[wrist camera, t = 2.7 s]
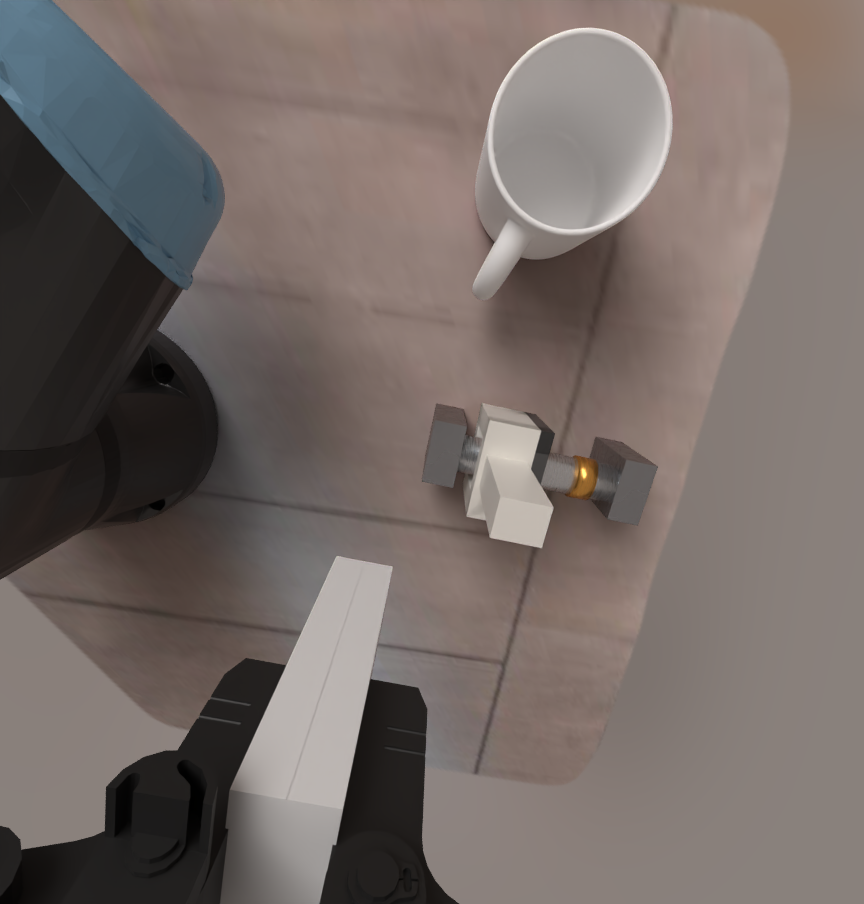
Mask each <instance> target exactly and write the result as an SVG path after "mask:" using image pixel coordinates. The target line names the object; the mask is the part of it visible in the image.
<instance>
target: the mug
mask: <svg viewBox="0 0 864 904" xmlns="http://www.w3.org/2000/svg"><path fill="white" fill-rule="evenodd" d="M672 127H673V124H672V108H671V102H670V97H669V93H668V90H667V86H666V84H665V82H664V79H663V77H662V75H661V73H660V71H659V70H658V68H657V66H656V65H655V63H654V62H653V60H652V59H651V58H650V57H649V56H648V54H647V53H646V52H645V51H644V50H643V49H641V48H640V47H639V46H638V45H637V44H636V43H634V42H632V41H631V40H629V39H628V38H626V37H624V36H622V35H620V34H617V33H615V32H612V31H608V30H604V29H597V28H578V29H573V30H568V31H564V32H561V33H558V34H556V35H553V36H551V37H549V38H547V39H545V40H543V41H541V42H540V43H538V44H537V45H536V46H534V47H533V48H531V49H530V50H529V51H528V52H527V53H526V54H525V55H523V56H522V57H521V58H520V59H519V60H518V62H517V63H516V64H515V65H514V66H513V67H512V69H511V70H510V71H509V73H508V74H507V76H506V78H505V79H504V81H503V82H502V84H501V86H500V88H499V90H498V92H497V95H496V97H495V100H494V103H493V106H492V109H491V114H490V118H489V122H488V127H487V131H486V136H485V140H484V144H483V149H482V153H481V158H480V162H479V167H478V171H477V176H476V184H475V199H476V207H477V211H478V215H479V218H480V220H481V223H482V225H483V227H484V229H485V230H486V232H487V233H488V235H489V236H490V238H491V239H492V240H493V241H494V242H495V243H494V245H493V247H492V248H491V250H490V252H489V254H488V256H487V258H486V260H485V261H484V263H483V265H482V267H481V269H480V271H479V273H478V275H477V277H476V279H475V281H474V284H473V287H472V288H473V293H474V296H475V297H476V298H477V299H479V300H488V299H490V298H491V297H492V296H493V295H494V294H495V293H496V292H497V291H498V289H499V288H500V287H501V285H502V284H503V283H504V281H505V280H506V278H507V277H508V275H509V274H510V272H511V271H512V269H513V268H514V266H515V265H516V263H517V262H518V260H519V259H520V257H521V258H526V259H533V260H536V259H547V258H552V257H555V256H558V255H561V254H563V253H565V252H567V251H570V250H571V249H573V248H575V247H577V246H578V245H580V244H582V243H584V242H586V241H587V240H589V239H591V238H593V237H594V236H596V235H598V234H600V233H602V232H603V231H605V230H607V229H609V228H610V227H612V226H614V225H616V224H617V223H619V222H620V221H622V220H623V219H625V218H626V217H627V216H629V215H630V214H631V213H632V212H634V211H635V210H636V209H637V208H638V207H639V206H640V205H641V204H642V203H643V201H644V200H645V199H646V198H647V196H648V195H649V194H650V192H651V191H652V190H653V188H654V186H655V184H656V183H657V181H658V179H659V177H660V175H661V173H662V171H663V168H664V166H665V163H666V160H667V157H668V154H669V149H670V144H671V138H672Z"/></svg>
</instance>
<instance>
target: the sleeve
mask: <svg viewBox="0 0 864 904" xmlns="http://www.w3.org/2000/svg"><path fill="white" fill-rule="evenodd" d="M554 435H555V433H554V432H553V431H552V430H551V429H550V428H549V427H548V426H547V425H546V424H545V423H544V422H543V421H542V420H541V419H540V418H539V417H538V416H537V415H536V414H532V413H527V412H522V411H517V410H513V409H508V408H503V407H498V406H494V405H489V404H484V403H482V404H481V408H480V412H479V417H478V421H477V425H476V429H475V434H474V437H478V438H482V442H481V446H480V450H479V454H478V458H477V463H476V467H475V471H474V475H472V474H467V473H465V476H464V480H463V492H464V501H465V509H466V517H471V518H476V519H481V520H486V522H487V527H488V532H489V536H490V538H494V539H499V540H504V541H509V542H514V543H519V544H524V545H529V546H534V547H539V548H542V546H543V542H544V539H545V535H546V532H547V529H548V525H549V522H550V518H551V515H552V511H553V508H554V507H553V506H552V504H551V502H550V500H549V499H548V497H547V495H546V494H545V492H544V490H543V489H542V487H541V482H542V478H543V475H544V471H545V467H546V464H547V460H548V457H549V453H550V450H551V446H552V442H553V439H554Z"/></svg>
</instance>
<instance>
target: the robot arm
mask: <svg viewBox="0 0 864 904" xmlns="http://www.w3.org/2000/svg"><path fill="white" fill-rule="evenodd" d="M224 203H225V193H224V187H223V182H222V179H221V176H220V173H219V171H218V169H217V167H216V165H215V164H214V162H213V161H212V159H211V158H210V156H209V155H208V154H207V153H206V151H205V150H204V149H203V148H202V147H201V146H200V145H199V144H198V143H197V142H196V141H195V140H194V139H193V138H192V137H191V136H190V135H189V134H188V133H187V132H186V131H185V130H184V129H183V128H182V127H181V126H180V125H179V124H178V123H177V122H176V121H175V120H174V119H173V118H172V117H171V116H170V115H169V114H168V113H167V112H166V111H165V110H164V109H163V108H162V107H161V106H160V105H159V104H158V103H157V102H156V101H155V100H154V99H153V98H152V97H151V96H150V95H149V94H148V93H147V92H146V91H145V90H144V89H142V88H141V87H140V86H139V85H138V84H137V83H136V82H135V81H134V80H133V79H132V78H131V77H130V76H129V75H128V74H127V73H126V72H125V71H124V70H123V69H122V68H121V67H120V66H119V65H118V64H117V63H116V62H115V61H114V60H113V59H112V58H111V57H110V56H109V55H108V54H107V53H106V52H105V51H104V50H103V49H102V48H100V47H99V46H98V45H97V44H96V43H95V42H94V41H93V40H92V39H91V38H90V37H89V36H88V35H87V34H86V33H85V32H84V31H83V30H82V29H81V28H80V27H79V26H78V25H77V24H76V23H75V22H74V21H73V20H72V19H71V18H70V17H69V16H68V15H67V14H66V13H64V12H63V11H62V10H61V9H60V8H59V7H58V6H57V5H56V4H55V3H54V2H53V1H52V0H0V579H2V578H4V577H6V576H7V575H9V574H11V573H12V572H14V571H16V570H17V569H19V568H21V567H22V566H24V565H26V564H28V563H29V562H31V561H33V560H34V559H36V558H38V557H39V556H41V555H43V554H44V553H46V552H48V551H49V550H51V549H53V548H55V547H56V546H58V545H60V544H61V543H63V542H65V541H66V540H68V539H70V538H71V537H73V536H75V535H76V534H78V533H80V532H81V531H83V530H90V529H96V528H103V527H109V526H116V525H123V524H129V523H135V522H139V521H143V520H146V519H149V518H151V517H154V516H156V515H158V514H161V513H163V512H164V511H166V510H168V509H169V508H171V507H172V506H174V505H175V504H177V503H178V502H180V501H181V500H183V499H184V498H186V497H187V496H188V495H189V494H190V493H192V492H193V491H194V490H195V489H196V488H197V486H198V485H199V484H200V483H201V481H202V480H203V479H204V477H205V475H206V474H207V472H208V470H209V468H210V466H211V463H212V461H213V458H214V455H215V450H216V445H217V434H218V428H217V416H216V411H215V406H214V402H213V399H212V396H211V393H210V391H209V389H208V386H207V384H206V382H205V380H204V378H203V377H202V375H201V373H200V372H199V370H198V369H197V367H196V366H195V364H194V363H193V362H192V360H191V359H190V358H189V357H188V356H187V355H186V353H185V352H184V351H183V350H182V349H181V348H180V347H179V346H178V345H176V344H175V343H174V342H173V341H172V340H170V339H169V338H168V337H167V336H165V335H164V334H162V333H161V332H159V331H157V329H158V328H159V326H160V324H161V323H162V321H163V320H164V318H165V317H166V315H167V313H168V312H169V310H170V309H171V307H172V306H173V304H174V303H175V301H176V299H177V298H178V296H179V295H180V293H181V292H182V290H183V289H185V290H188V288H189V287H190V286H191V284H192V281H193V278H192V272H193V270H194V268H195V266H196V264H197V262H198V260H199V258H200V256H201V254H202V252H203V250H204V248H205V246H206V244H207V242H208V240H209V239H210V237H211V235H212V233H213V231H214V230H215V228H216V226H217V224H218V222H219V220H220V218H221V216H222V213H223V209H224ZM392 569H393V567H392V566H387V565H382V564H377V563H371V562H366V561H361V560H356V559H350V558H345V557H340V556H336V558H335V560H334V562H333V565H332V567H331V569H330V571H329V573H328V576H327V578H326V580H325V582H324V584H323V587H322V589H321V591H320V593H319V595H318V597H317V600H316V602H315V604H314V606H313V608H312V611H311V613H310V615H309V617H308V619H307V622H306V624H305V626H304V628H303V630H302V632H301V635H300V637H299V639H298V641H297V643H296V646H295V648H294V650H293V652H292V654H291V657H290V659H289V661H288V663H287V665H281V664H275V663H270V662H264V661H259V660H254V659H248V658H246V659H244V660H243V661H242V662H240V663H239V664H238V665H236V666H235V667H234V668H232V669H231V670H230V671H228V672H227V673H226V674H225V675H224V676H223V678H222V679H221V681H220V683H219V684H218V686H217V687H216V689H215V691H214V692H213V694H212V696H211V699H210V700H208V702H207V704H206V705H205V707H204V708H203V710H202V712H201V713H200V716H199V719H197V720H196V721H195V723H194V725H193V726H192V728H191V729H190V731H189V733H188V734H187V736H186V738H185V740H184V741H183V742H182V744H181V746H180V747H179V749H178V750H177V751H163V752H160V753H156V754H153V755H149V756H146V757H143V758H142V759H140V760H138V761H137V762H135V763H133V764H132V765H130V766H128V767H126V768H125V769H123V770H122V771H121V772H120V773H119V774H118V775H117V777H115V778H114V779H113V780H112V782H110V784H109V785H108V786H107V787H106V810H105V811H106V812H105V813H106V814H105V831H104V832H102V833H99V834H97V835H95V836H92V837H89V838H85V839H81V840H77V841H73V842H67V843H60V844H54V845H48V846H42V847H36V848H30V849H23V850H21V843H20V839H19V838H18V837H17V836H16V835H15V834H14V833H13V832H12V831H11V830H10V829H9V828H6V827H2V826H0V904H459V903H457V902H456V901H455V900H453V899H452V898H451V897H449V896H448V895H447V894H446V893H445V892H444V891H443V889H442V888H441V887H440V886H439V885H438V884H437V882H436V881H435V879H434V878H433V876H432V874H431V872H430V870H429V868H428V866H427V863H426V860H425V856H424V853H423V845H422V823H423V799H424V775H425V774H424V773H425V751H426V728H427V707H426V705H425V703H424V700H423V698H422V696H421V693H420V691H419V689H418V688H416V687H411V686H405V685H400V684H394V683H389V682H383V681H378V680H373V679H371V675H372V670H373V666H374V661H375V656H376V651H377V646H378V640H379V635H380V630H381V625H382V620H383V615H384V610H385V605H386V600H387V594H388V589H389V584H390V579H391V574H392Z"/></svg>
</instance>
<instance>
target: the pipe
mask: <svg viewBox="0 0 864 904" xmlns="http://www.w3.org/2000/svg"><path fill="white" fill-rule="evenodd" d="M466 430H467V424H466V420H465V415H464V411H463V409H460V408H456V407H451V406H446V405H441V404H436V407H435V412H434V417H433V422H432V426H431V431H430V436H429V440H428V445H427V450H426V455H425V462H424V469H423V477H422V482H427V483H432V484H436V485H441V486H446V487H451V488H453V486H454V482H455V477H456V473H457V472H462V473H467V474H472V475H474V471H475V467H476V463H477V458H478V454H479V450H480V446H481V442H482V438H478V437H473V436H468V435H465V434H466ZM657 468H658V466H656V465H655V464H654V463H652V462H651V461H649V460H648V459H646V458H645V457H643V456H642V455H640V454H639V453H637V452H636V451H634V450H633V449H631V448H630V447H628V446H627V445H625V444H624V443H622V442H618V441H613V440H609V439H604V438H599V437H596V438H595V441H594V445H593V448H592V451H591V455H590V458H586V457H581V456H576V455H575V456H573V457H569V456H565V455H560V454H555V453H549V457H548V460H547V464H546V467H545V471H544V475H543V478H542V482H541V487H542V489H545V490H550V491H555V492H560V493H565V495H566V496H568V497H573V498H578V499H582V500H588V499H591V500H592V502H593V503H594V504H595V505H596V506H597V508H598V509H599V510H600V511H601V512H602V514H603V515H604V516H605V517H606V518H607V519H608V520H613V521H618V522H623V523H628V524H633V525H638V523H639V520H640V517H641V514H642V511H643V508H644V506H645V503H646V500H647V497H648V494H649V491H650V488H651V485H652V482H653V479H654V476H655V474H656V471H657Z"/></svg>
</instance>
